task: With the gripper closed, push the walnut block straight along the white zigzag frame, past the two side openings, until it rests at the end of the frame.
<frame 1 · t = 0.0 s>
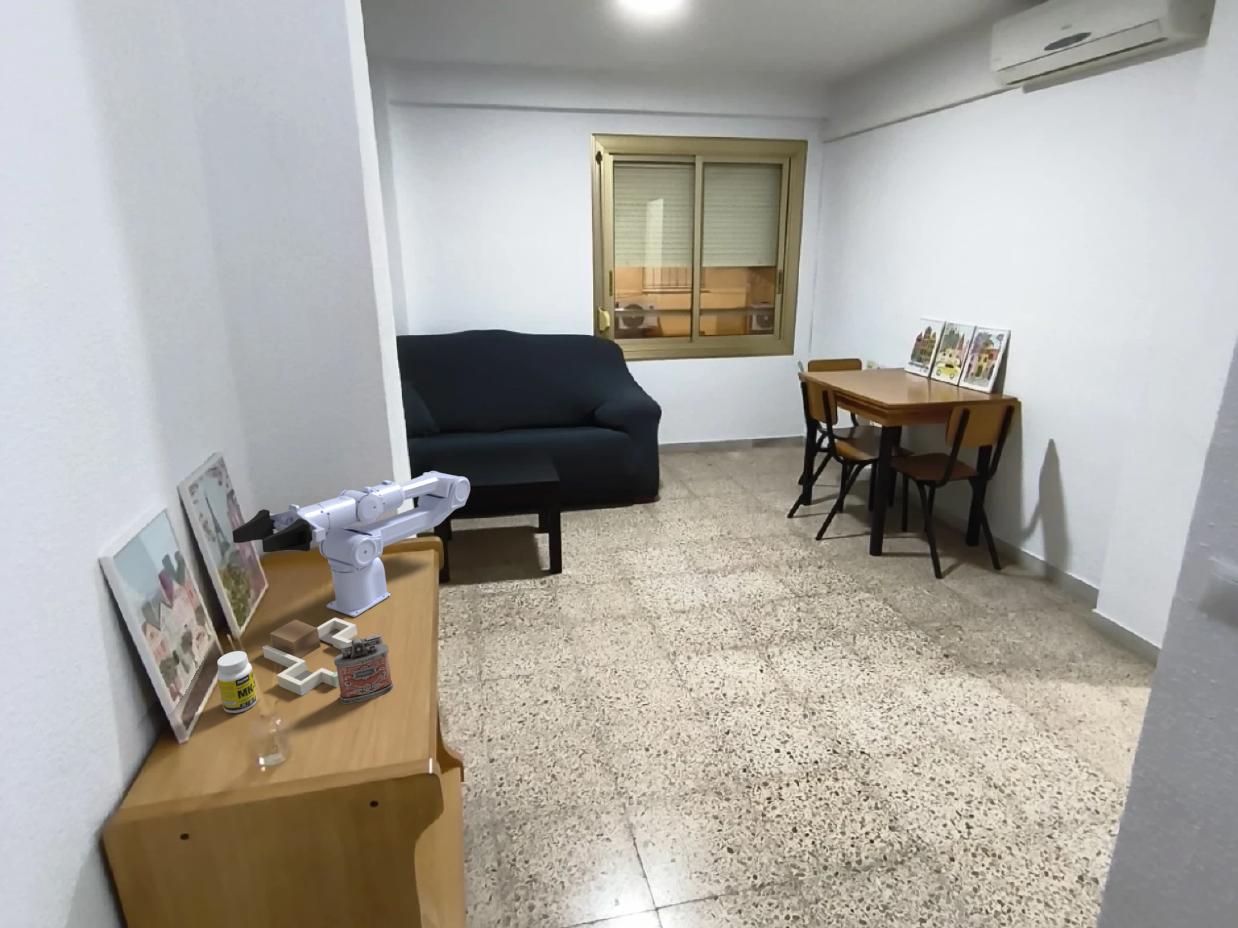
hand: (248, 541, 111), 22 cm above the table, tool horizontal, fingers open, 7 cm apart
white zigzag frame: (320, 658, 116), on the table
lighter: (367, 693, 108), on the table
supplement bottle: (241, 704, 105), on the table
block: (297, 650, 119), on the table
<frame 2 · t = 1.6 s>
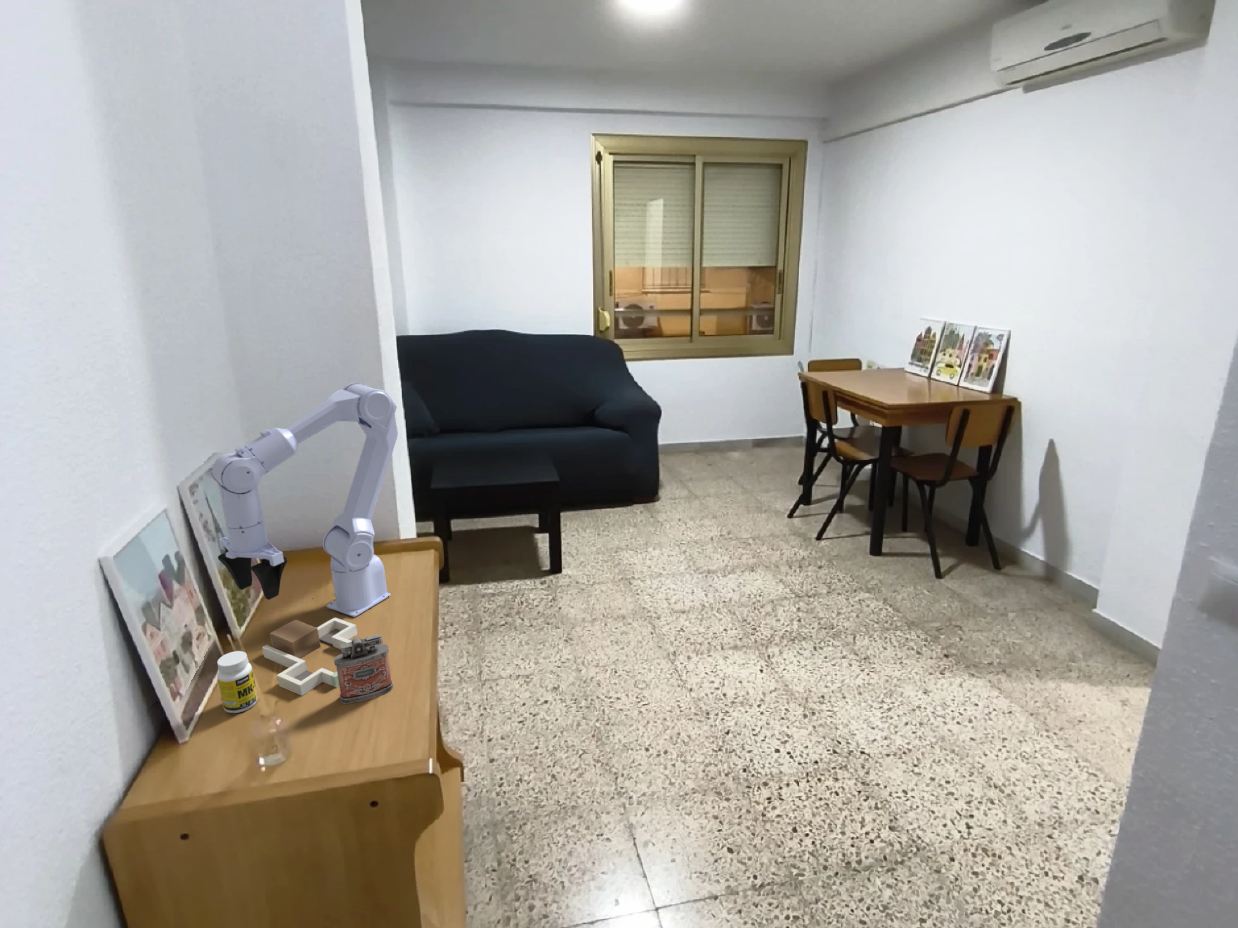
hand: (258, 591, 119), 9 cm above the table, tool pointing down, fingers open, 7 cm apart
nothing on the table moved.
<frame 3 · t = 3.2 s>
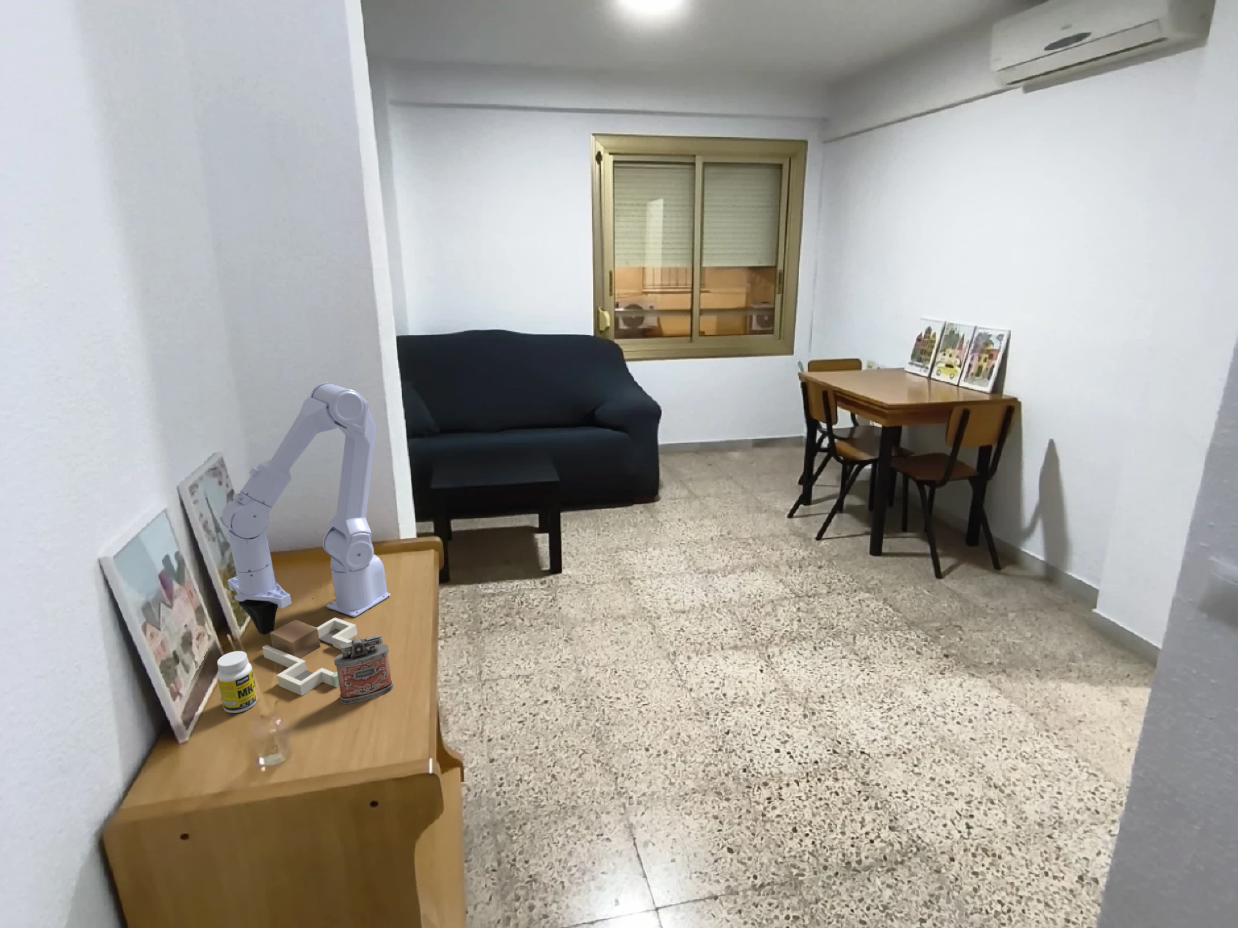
hand: (266, 631, 122), 1 cm above the table, tool pointing down, fingers closed
nothing on the table moved.
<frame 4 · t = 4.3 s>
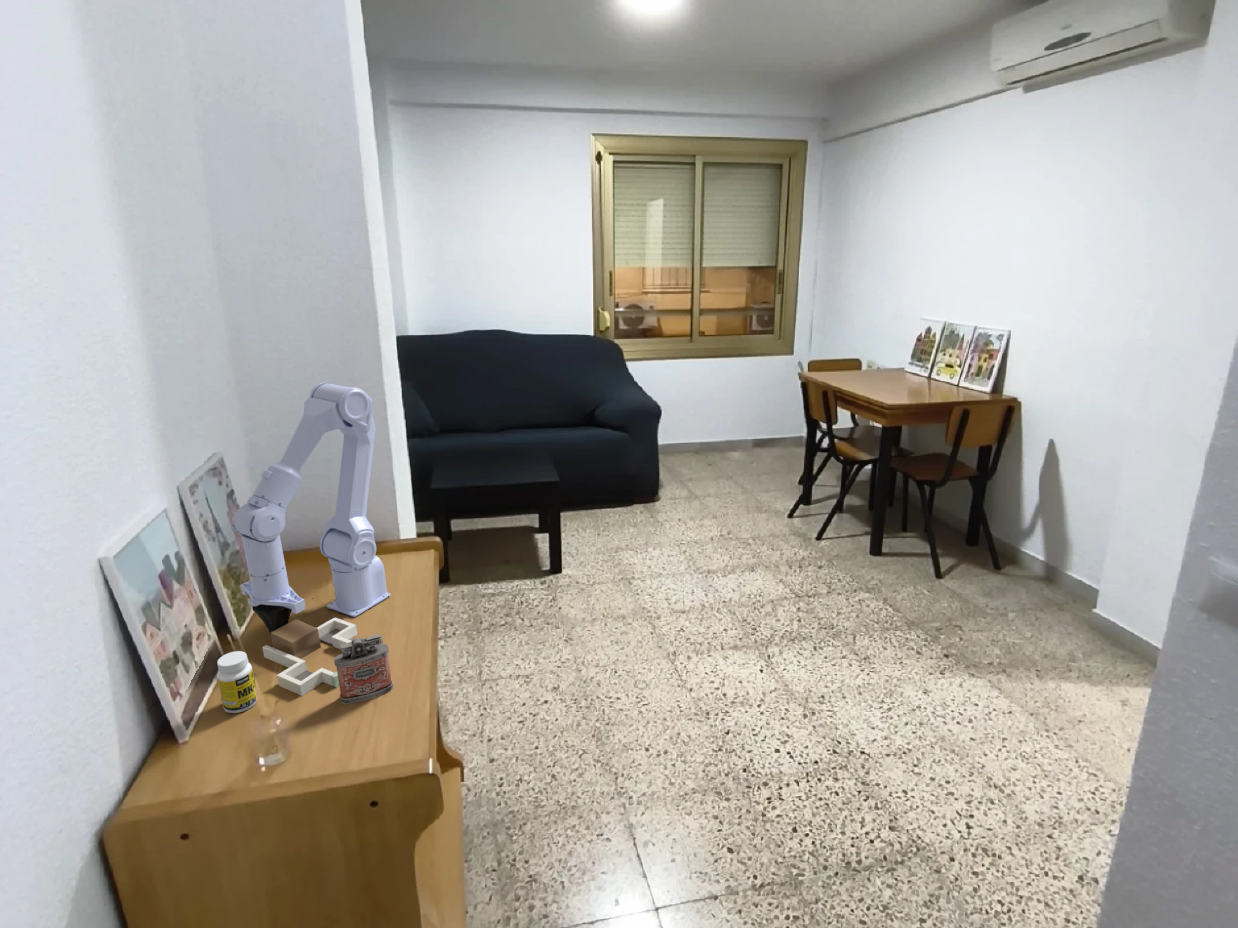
hand: (280, 636, 121), 1 cm above the table, tool pointing down, fingers closed
block: (297, 649, 119), on the table, touching gripper
everything else where it was.
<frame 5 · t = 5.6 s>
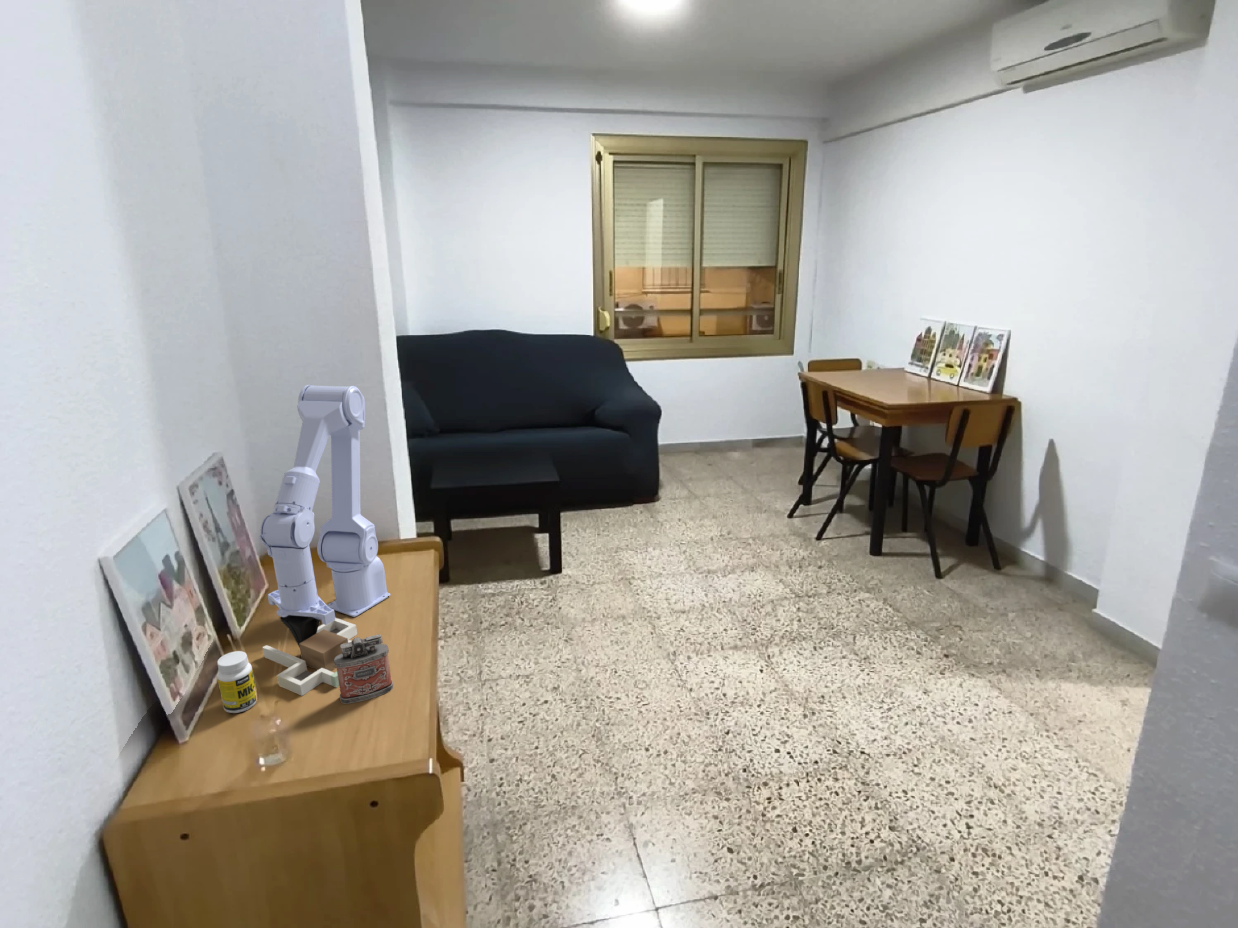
hand: (308, 647, 117), 1 cm above the table, tool pointing down, fingers closed
block: (326, 660, 116), on the table, touching gripper
everything else where it was.
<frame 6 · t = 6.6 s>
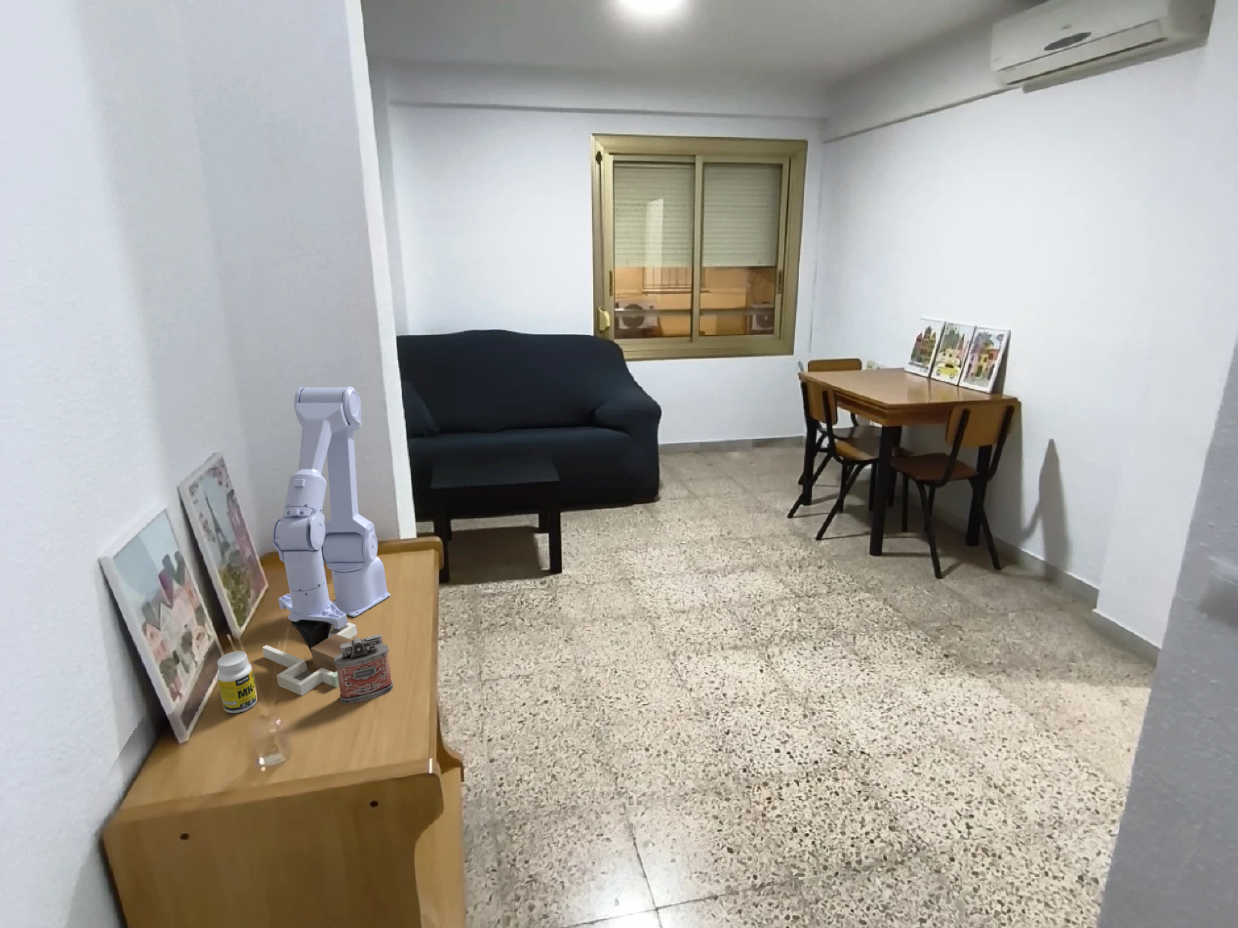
hand: (319, 652, 116), 1 cm above the table, tool pointing down, fingers closed
block: (338, 665, 114), on the table, touching gripper
everything else where it was.
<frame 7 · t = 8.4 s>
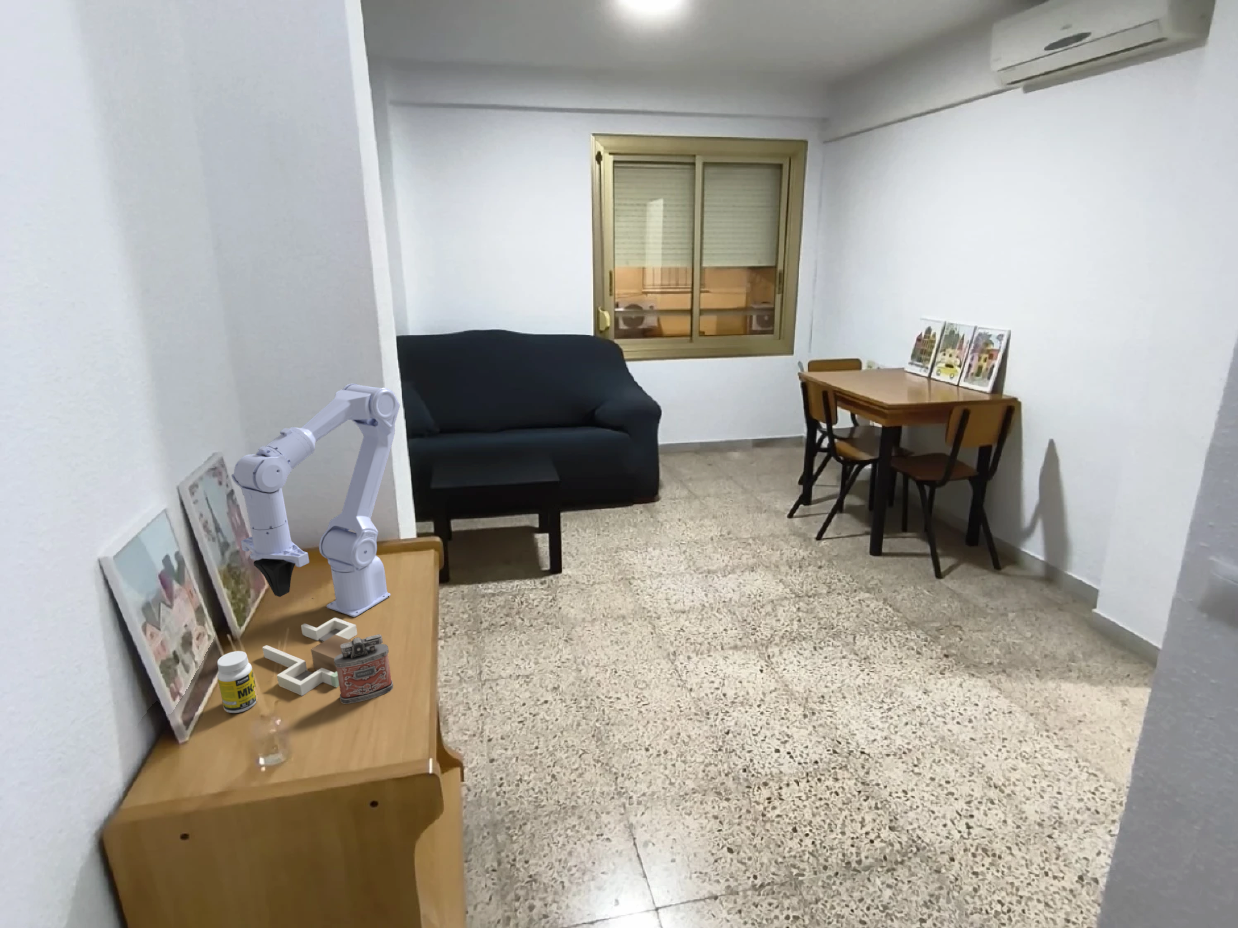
hand: (282, 593, 118), 10 cm above the table, tool pointing down, fingers closed
block: (338, 666, 115), on the table
everything else where it was.
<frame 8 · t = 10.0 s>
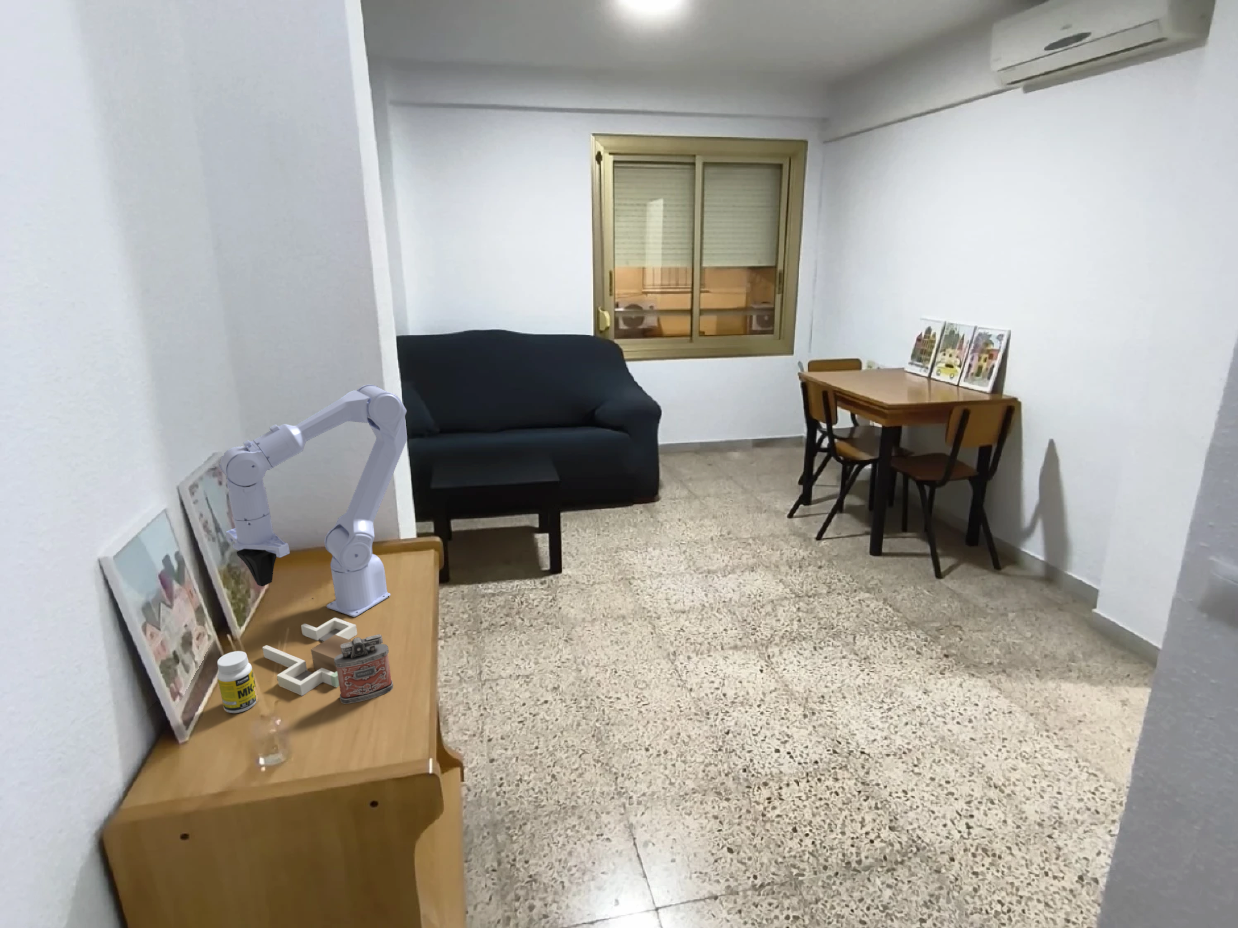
hand: (264, 583, 121), 10 cm above the table, tool pointing down, fingers closed
nothing on the table moved.
at the end: block 0.6 cm from the target spot on the white zigzag frame, point 0.0 cm above the white zigzag frame's base; block tilted 0°; block moved 10.4 cm from its start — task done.
